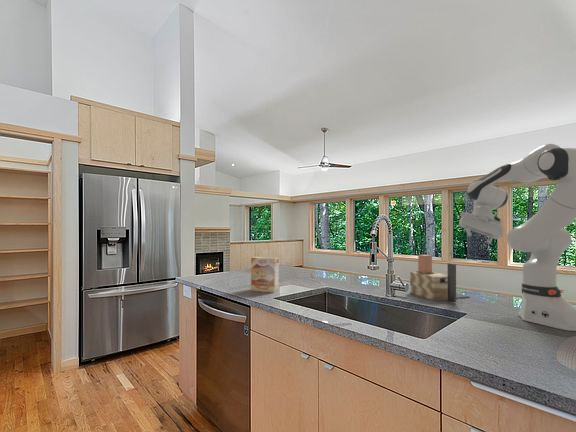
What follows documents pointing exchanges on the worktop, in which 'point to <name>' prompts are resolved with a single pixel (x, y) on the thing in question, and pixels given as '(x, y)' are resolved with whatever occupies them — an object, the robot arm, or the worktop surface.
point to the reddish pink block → (425, 263)
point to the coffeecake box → (264, 274)
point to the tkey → (451, 282)
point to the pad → (461, 296)
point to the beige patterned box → (429, 285)
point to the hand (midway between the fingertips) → (479, 239)
